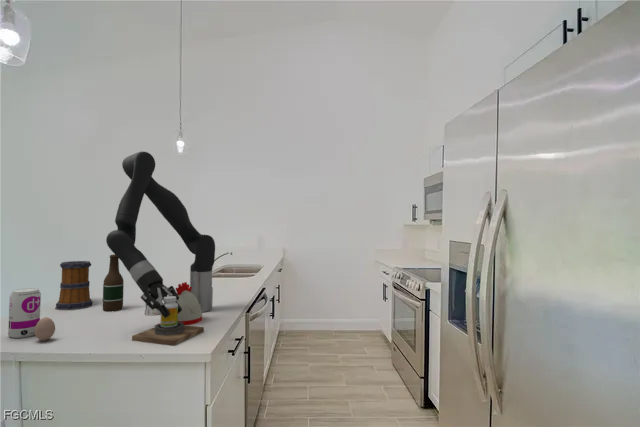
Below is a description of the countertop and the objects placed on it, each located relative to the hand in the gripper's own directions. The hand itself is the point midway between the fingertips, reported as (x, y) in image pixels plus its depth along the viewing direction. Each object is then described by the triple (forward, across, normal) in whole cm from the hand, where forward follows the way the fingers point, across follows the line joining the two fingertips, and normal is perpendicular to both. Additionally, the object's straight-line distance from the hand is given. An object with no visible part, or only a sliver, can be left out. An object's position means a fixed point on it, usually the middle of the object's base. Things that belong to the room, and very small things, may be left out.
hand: (173, 313), depth 124 cm
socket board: (+4, 0, +6) cm, 8 cm away
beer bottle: (-29, +23, +41) cm, 55 cm away
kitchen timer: (-1, +18, +12) cm, 22 cm away
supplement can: (-28, -15, +39) cm, 51 cm away
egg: (-20, -17, +31) cm, 40 cm away
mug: (-45, +24, +56) cm, 76 cm away
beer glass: (-15, +23, +26) cm, 38 cm away
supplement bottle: (+2, 0, +4) cm, 5 cm away
